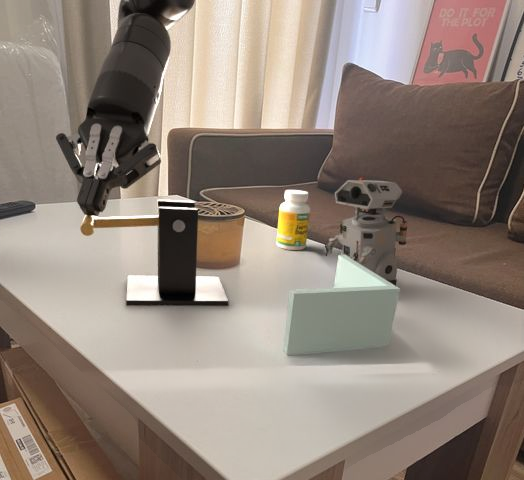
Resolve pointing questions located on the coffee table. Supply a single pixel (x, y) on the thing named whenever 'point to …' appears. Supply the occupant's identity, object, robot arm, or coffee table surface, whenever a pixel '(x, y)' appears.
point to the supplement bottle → (293, 220)
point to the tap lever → (116, 222)
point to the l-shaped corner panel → (341, 312)
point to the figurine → (370, 226)
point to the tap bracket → (176, 264)
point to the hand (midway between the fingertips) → (88, 211)
